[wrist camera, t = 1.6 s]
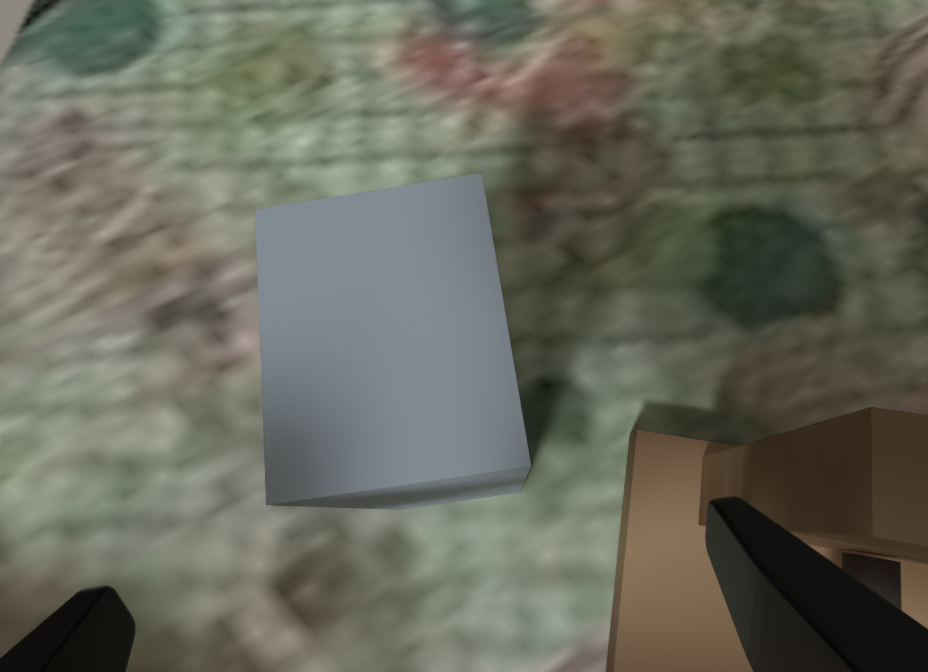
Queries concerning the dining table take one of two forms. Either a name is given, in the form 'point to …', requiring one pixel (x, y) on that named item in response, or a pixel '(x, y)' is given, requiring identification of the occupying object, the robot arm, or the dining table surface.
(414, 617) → the dining table surface
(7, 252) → the dining table surface
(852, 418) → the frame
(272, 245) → the grey rectangular block
